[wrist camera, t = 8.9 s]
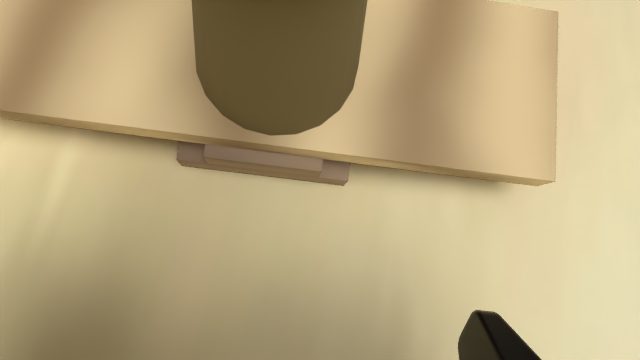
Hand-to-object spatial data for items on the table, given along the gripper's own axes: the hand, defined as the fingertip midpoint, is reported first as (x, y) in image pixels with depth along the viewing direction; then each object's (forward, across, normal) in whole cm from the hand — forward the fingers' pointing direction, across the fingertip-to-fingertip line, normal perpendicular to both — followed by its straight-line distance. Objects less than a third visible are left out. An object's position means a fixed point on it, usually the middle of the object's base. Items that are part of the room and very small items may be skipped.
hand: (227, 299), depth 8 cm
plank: (+12, 0, 0) cm, 12 cm away
